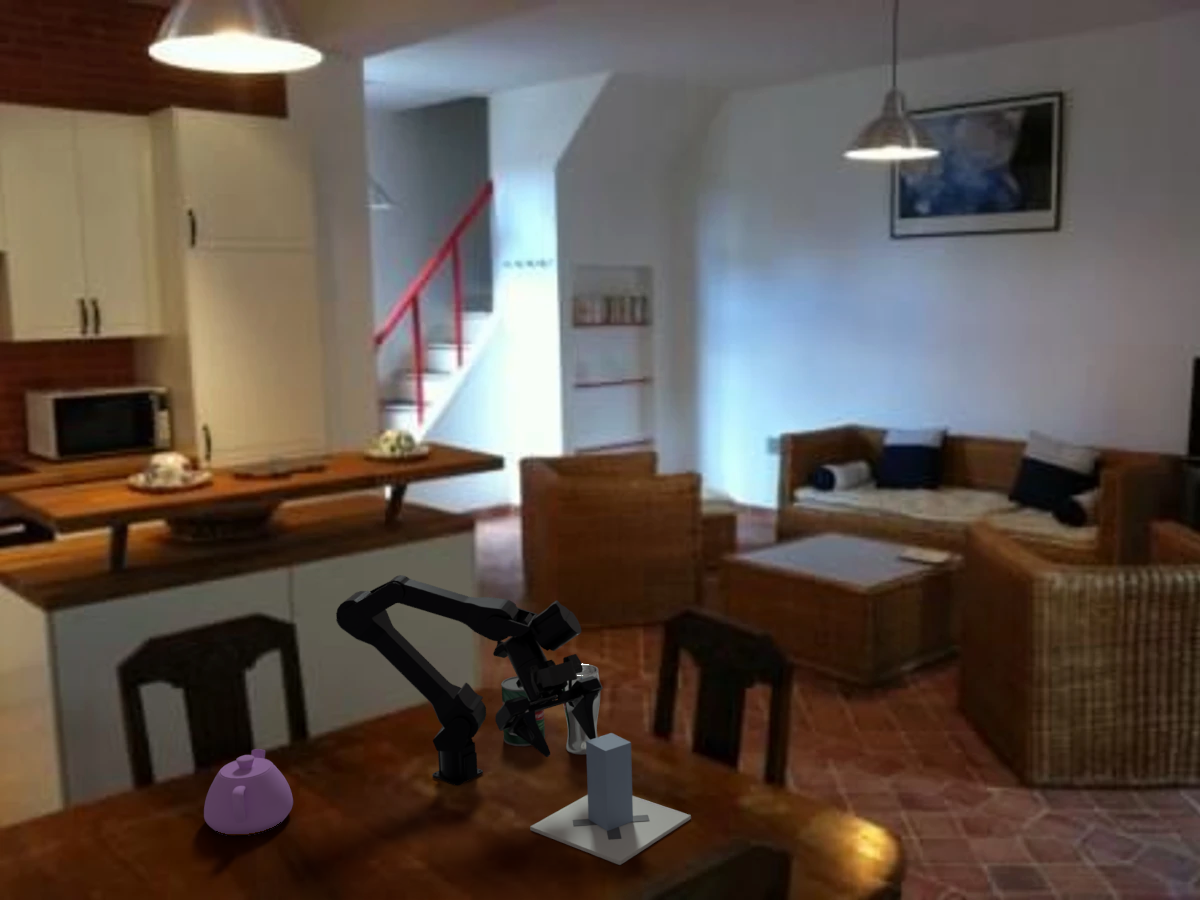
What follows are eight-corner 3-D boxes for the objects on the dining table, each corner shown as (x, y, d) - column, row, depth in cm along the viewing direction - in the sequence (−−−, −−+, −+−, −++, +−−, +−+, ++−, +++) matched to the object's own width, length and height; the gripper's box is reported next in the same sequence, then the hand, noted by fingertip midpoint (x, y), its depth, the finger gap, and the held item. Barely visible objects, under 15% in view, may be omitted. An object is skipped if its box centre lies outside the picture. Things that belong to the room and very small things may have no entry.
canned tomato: (500, 732, 215) (498, 677, 213) (540, 727, 217) (538, 673, 215) (507, 748, 207) (504, 691, 206) (548, 743, 209) (546, 687, 208)
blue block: (588, 819, 177) (586, 741, 175) (613, 810, 180) (611, 732, 178) (607, 830, 173) (605, 751, 171) (633, 821, 176) (631, 742, 174)
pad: (530, 830, 176) (530, 825, 176) (603, 789, 189) (603, 785, 189) (619, 865, 164) (619, 860, 164) (690, 818, 178) (690, 814, 178)
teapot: (302, 787, 194) (298, 728, 192) (285, 843, 174) (280, 778, 172) (219, 794, 192) (214, 734, 190) (193, 851, 172) (187, 785, 171)
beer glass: (597, 756, 203) (595, 677, 200) (560, 754, 204) (557, 675, 202) (605, 741, 209) (602, 664, 207) (568, 739, 211) (566, 662, 209)
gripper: (501, 653, 179) (543, 740, 172) (594, 629, 190) (637, 710, 183) (478, 688, 186) (517, 772, 179) (568, 663, 198) (608, 741, 191)
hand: (571, 748), depth 183 cm, fingers open, 9 cm apart
